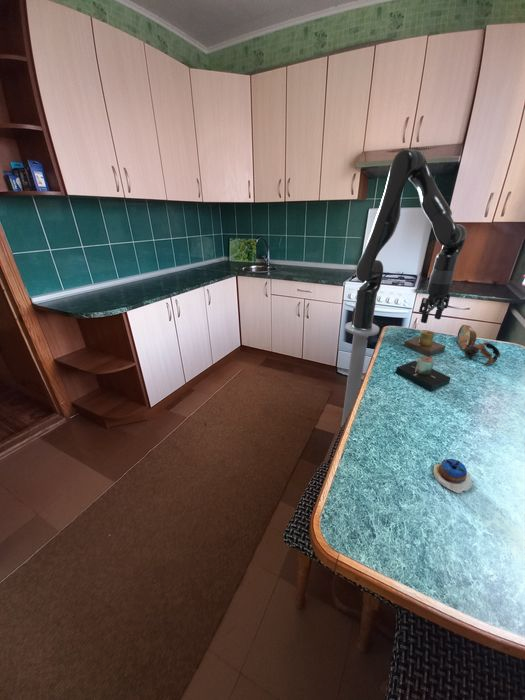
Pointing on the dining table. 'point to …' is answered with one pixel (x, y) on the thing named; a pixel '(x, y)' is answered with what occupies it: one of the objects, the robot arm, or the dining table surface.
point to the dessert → (453, 475)
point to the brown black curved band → (483, 352)
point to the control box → (423, 377)
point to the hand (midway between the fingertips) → (430, 320)
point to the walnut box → (424, 347)
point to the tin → (466, 336)
